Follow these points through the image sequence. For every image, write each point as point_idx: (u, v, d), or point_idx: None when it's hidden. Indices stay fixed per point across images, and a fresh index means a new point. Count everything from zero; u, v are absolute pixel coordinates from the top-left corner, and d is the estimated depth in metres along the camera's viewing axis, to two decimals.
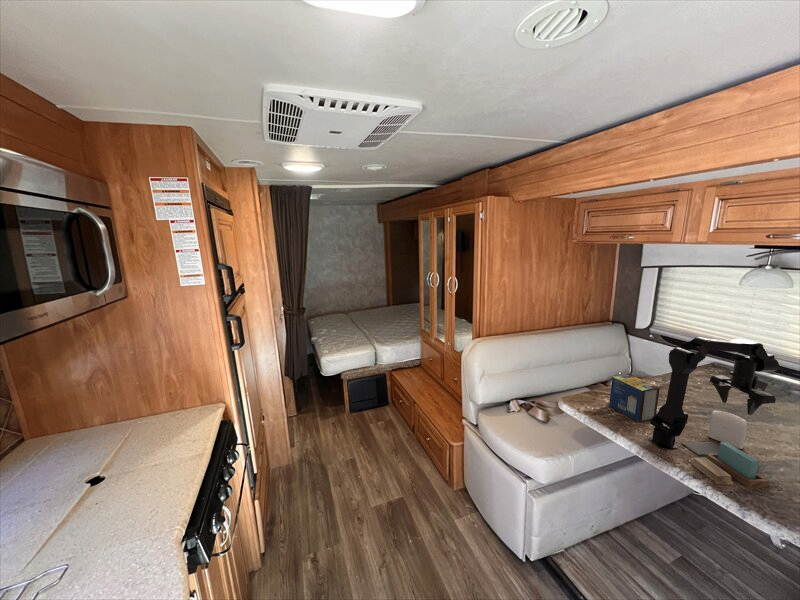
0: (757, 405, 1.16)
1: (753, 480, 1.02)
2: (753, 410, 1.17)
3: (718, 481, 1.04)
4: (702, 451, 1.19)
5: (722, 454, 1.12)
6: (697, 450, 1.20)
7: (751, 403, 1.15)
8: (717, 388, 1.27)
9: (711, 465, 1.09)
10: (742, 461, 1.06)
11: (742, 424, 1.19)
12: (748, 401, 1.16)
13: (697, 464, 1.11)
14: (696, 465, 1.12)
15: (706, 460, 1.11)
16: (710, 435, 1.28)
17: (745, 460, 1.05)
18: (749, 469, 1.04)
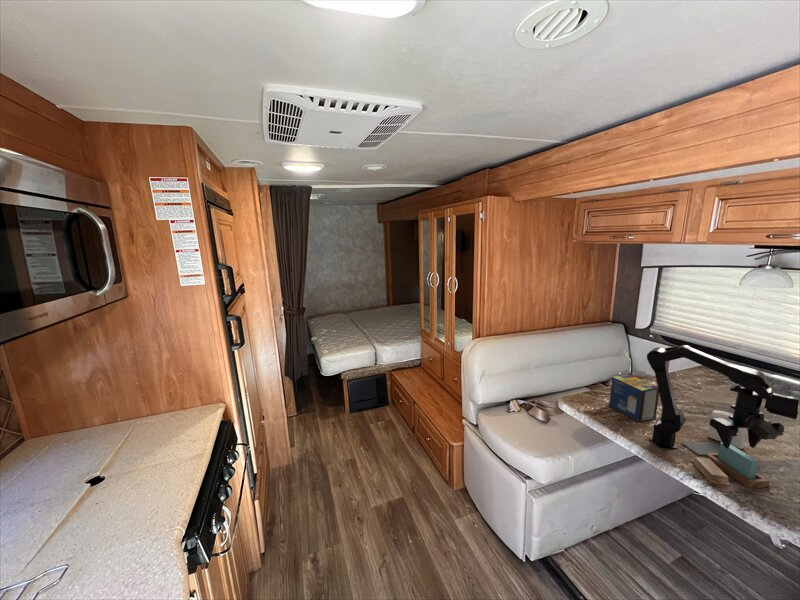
0: (726, 437, 1.06)
1: (753, 480, 1.02)
2: (725, 442, 1.07)
3: (712, 480, 1.05)
4: (702, 451, 1.19)
5: (722, 454, 1.12)
6: (697, 450, 1.20)
7: None
8: None
9: (711, 465, 1.09)
10: (742, 461, 1.06)
11: None
12: None
13: (697, 463, 1.12)
14: (696, 464, 1.12)
15: (708, 461, 1.11)
16: (710, 435, 1.28)
17: (745, 460, 1.05)
18: (749, 469, 1.04)
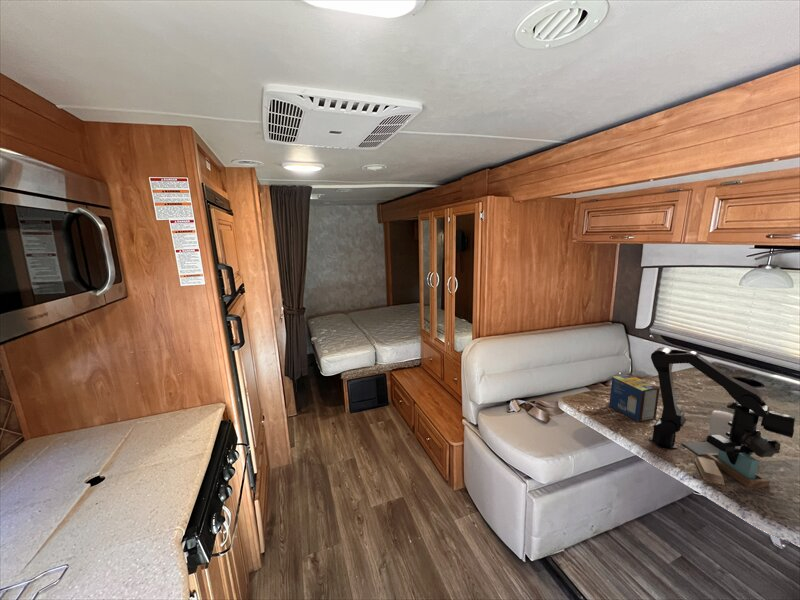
0: (733, 453, 1.07)
1: (753, 480, 1.02)
2: (731, 458, 1.08)
3: (705, 477, 1.06)
4: (702, 451, 1.19)
5: (722, 454, 1.12)
6: (697, 450, 1.20)
7: None
8: None
9: (710, 465, 1.09)
10: (742, 461, 1.06)
11: None
12: None
13: (698, 462, 1.12)
14: (697, 463, 1.13)
15: (710, 461, 1.11)
16: None
17: (745, 460, 1.05)
18: (749, 469, 1.04)
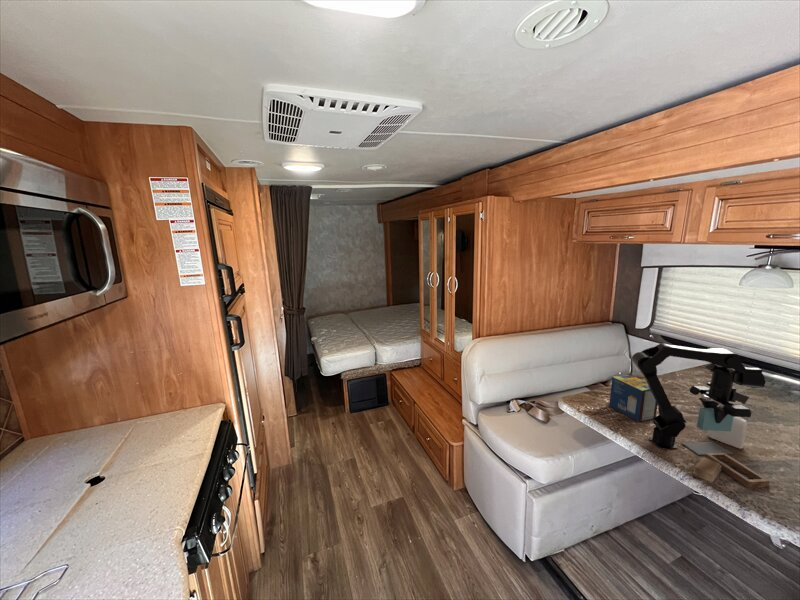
0: (724, 413, 1.14)
1: (753, 480, 1.02)
2: (721, 418, 1.15)
3: (695, 472, 1.08)
4: (702, 451, 1.19)
5: (707, 420, 1.16)
6: (697, 450, 1.20)
7: (717, 411, 1.14)
8: (703, 403, 1.19)
9: (709, 465, 1.09)
10: (726, 416, 1.16)
11: (742, 424, 1.19)
12: (714, 409, 1.14)
13: None
14: None
15: (714, 463, 1.10)
16: (710, 435, 1.28)
17: (728, 414, 1.15)
18: (732, 419, 1.16)
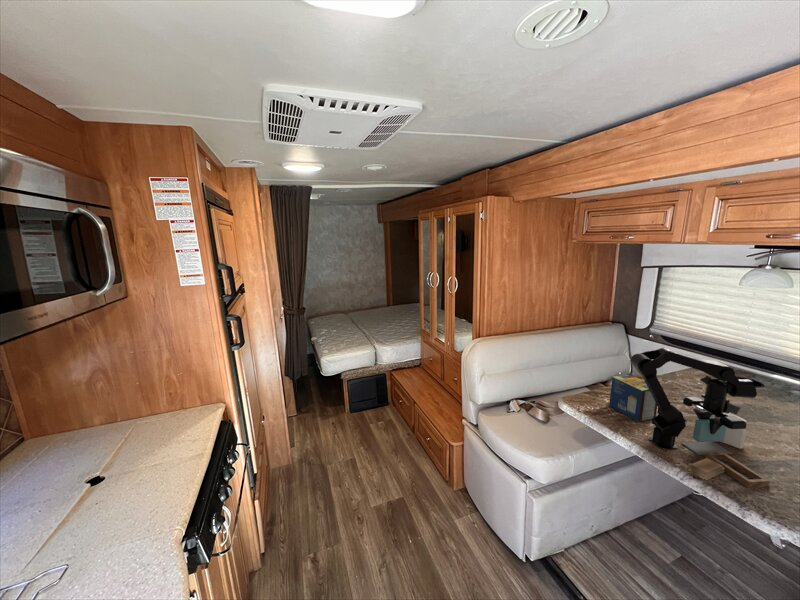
0: (719, 425, 1.16)
1: (753, 480, 1.02)
2: (715, 430, 1.17)
3: (691, 469, 1.10)
4: (702, 451, 1.19)
5: (703, 432, 1.18)
6: (697, 450, 1.20)
7: (713, 423, 1.16)
8: (698, 414, 1.21)
9: (709, 465, 1.09)
10: None
11: None
12: (710, 421, 1.16)
13: None
14: None
15: (715, 464, 1.09)
16: None
17: None
18: (725, 430, 1.19)
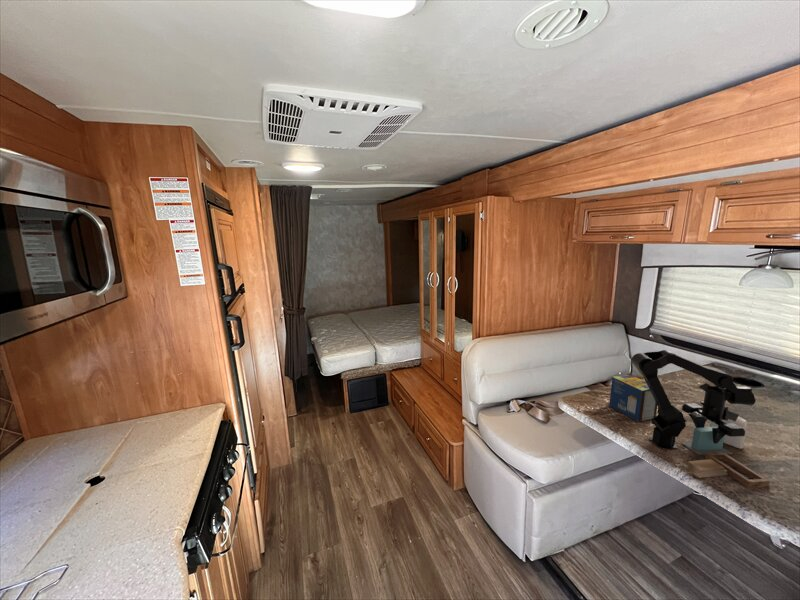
0: (722, 434, 1.16)
1: (753, 480, 1.02)
2: (718, 439, 1.16)
3: (687, 466, 1.11)
4: (702, 451, 1.19)
5: (702, 440, 1.19)
6: (697, 450, 1.20)
7: (716, 432, 1.15)
8: (693, 419, 1.23)
9: (708, 465, 1.09)
10: None
11: (742, 424, 1.19)
12: (713, 430, 1.16)
13: None
14: None
15: (716, 465, 1.09)
16: None
17: None
18: (723, 438, 1.19)
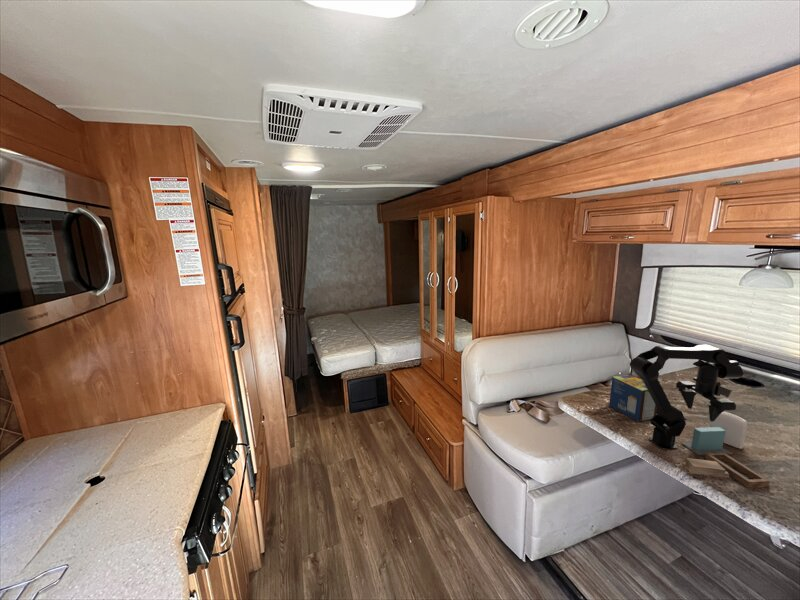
0: (719, 412, 1.15)
1: (753, 480, 1.02)
2: (715, 417, 1.16)
3: (685, 463, 1.13)
4: (702, 451, 1.19)
5: (702, 440, 1.19)
6: (697, 450, 1.20)
7: (712, 409, 1.15)
8: (682, 394, 1.27)
9: (707, 464, 1.09)
10: (718, 435, 1.19)
11: (742, 424, 1.19)
12: (709, 407, 1.15)
13: None
14: None
15: (717, 467, 1.08)
16: None
17: (720, 433, 1.19)
18: (723, 438, 1.19)
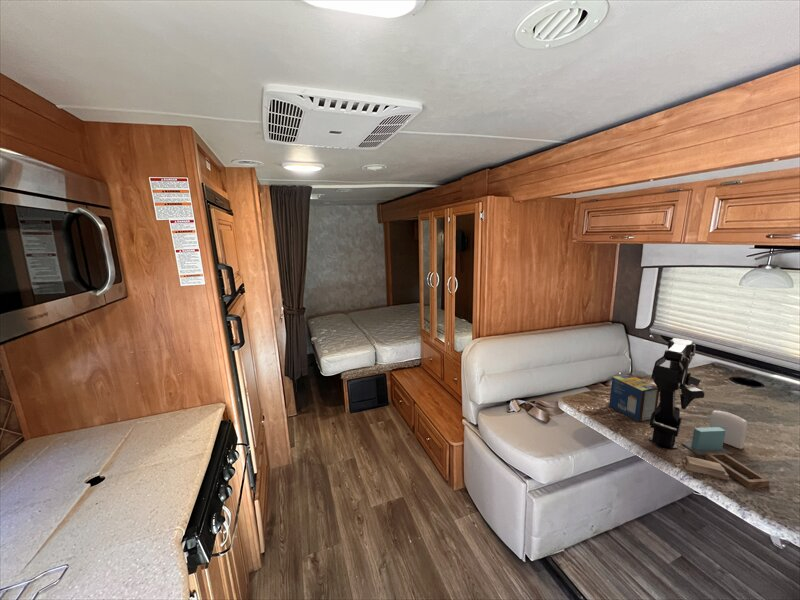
0: (689, 400, 1.24)
1: (753, 480, 1.02)
2: (686, 405, 1.25)
3: (684, 460, 1.14)
4: (702, 451, 1.19)
5: (702, 440, 1.19)
6: (697, 450, 1.20)
7: (683, 398, 1.23)
8: (657, 384, 1.35)
9: (706, 464, 1.09)
10: (718, 435, 1.19)
11: (742, 424, 1.19)
12: (681, 396, 1.24)
13: None
14: None
15: (717, 468, 1.08)
16: None
17: (720, 433, 1.19)
18: (723, 438, 1.19)
